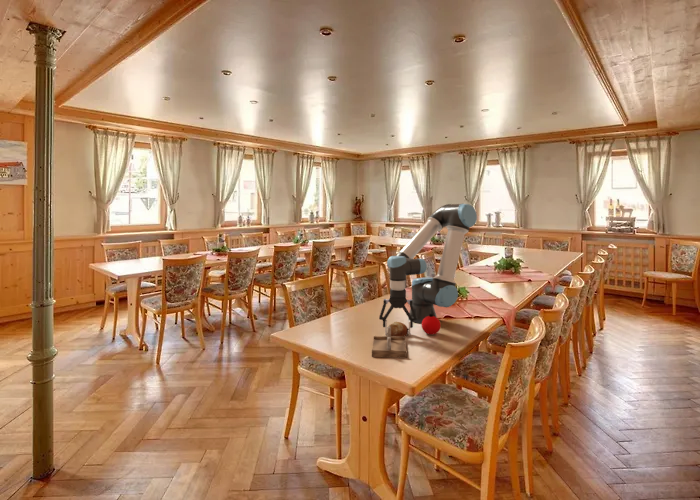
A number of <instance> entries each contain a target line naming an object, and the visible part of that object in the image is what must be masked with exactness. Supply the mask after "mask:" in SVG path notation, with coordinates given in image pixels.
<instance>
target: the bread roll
mask: <svg viewBox="0 0 700 500" xmlns="http://www.w3.org/2000/svg"><path fill="white" fill-rule="evenodd" d="M388 327H391V336H393V337H405V338H406V337H407V336H409V333H408V331H409V327H408V326H407V325H406V323H403V322H401V321H393V322H391V323H390V324H389V326H388Z"/></svg>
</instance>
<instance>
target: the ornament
mask: <svg viewBox="0 0 700 500" xmlns="http://www.w3.org/2000/svg"><path fill="white" fill-rule="evenodd" d="M441 325H442V324H441V321H440V319H439V318H438V317H437V318H436V317H435V316H433V314H429V316H427V317H425V318H424V319H423V321H422V323H421V329H422V331H423V332H424V333H425V334H427V335H429V336H431V335H432V336H433V335H436V334H438V333H439V331H441Z"/></svg>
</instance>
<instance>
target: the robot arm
mask: <svg viewBox="0 0 700 500" xmlns="http://www.w3.org/2000/svg"><path fill="white" fill-rule="evenodd" d="M477 220H478V213H477V211H476V208H475V207H474V206H473V205H472V204H469V203H453V204H452V203H448V204H444V205H441V206H440V207H438V208H437V209H436V210H435V211H433V212H432V213H431V214H430V215H429V216H428V218H426V222H425V223H424V224H423V225H422V227H421V228H420V229H419V230H418V231H417V232H416V233H415V235H413V237H411V239H409V241H408V242H407V243H406V244H405V245H404V246H403V248H402V249H401V250H400V251H399V252H398V253H397V254H396V255H391V256H389V258H388V259H387V263H386V264H387V267H388V269H389V288H390V289H389V298H388V299H386V298H384V299H383V304H382V308H381V311H380V314H379V320H381V321H382V328H384V329H385V330H384V331H385V332H384V333H385V335H386V336H387V327H388V317H389V315H390V314H391V312H392V311H393V309H402V310H403V311H404V313H405V314H406V316H407V317H408V329H409V330H408V336H411V328H412V329H413V327H414V323H417V324H422V321H423V319H424V318H425V317H427V316H429V314H433V316H435V317H436V318H438V316H437V312H436V310H435V307H434V306H437V307H440V308H450V307H452V305H455V303H456V302H457V300H458V297H459V292H458V289H457V287H456V281H455V280H454V279H455V275H456V271H457V268H458V263H459V259H460V254H461V250H462V247H463V243H464V239H465V235H466V234H468V233H469V231H470V228H473V226H474V225H476V223H477ZM444 228H446V229H447V233H446V237H445V242H444V246H443V249H442V250H443V251H442V253H441V258H440V262H439V265H438V269H437V273H436V275H435V276H433V277H417V278H413V279H412V281H411V299H407V291H406V290H407V289H406V288H407V276H414V275H421V274H424V273H426V271H427V269H428V268H427V267H428V265H427V262H426V260H425V259H423V258H418V257H417V258H415V257H416V256H417V255H418V253H420V252H421V250H422V249H423V248H424V247H425V246H426V245H427V243H428V242H429V241H430V240H431V239H432V238H433V237H434V236H435V235H436V234H437V232H441V231H442V230H443V229H444ZM388 304H390V306H389V308H388V309H387V311H386V313H385V310H386V307H387V305H388ZM406 304H408V305H409V308H410V310H409V311H408V309H407V308H406ZM384 313H385V314H384ZM385 335H384V336H385Z"/></svg>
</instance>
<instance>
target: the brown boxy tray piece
mask: <svg viewBox="0 0 700 500" xmlns="http://www.w3.org/2000/svg"><path fill="white" fill-rule="evenodd" d="M405 339H406V336H405V337H393V336H391V327H389V326H387V335H386V336H385V335H374V336H373V341H372V348H371V357H375V358H377V357H379V358H407V349H406V348H407V346H406V340H405Z"/></svg>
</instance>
